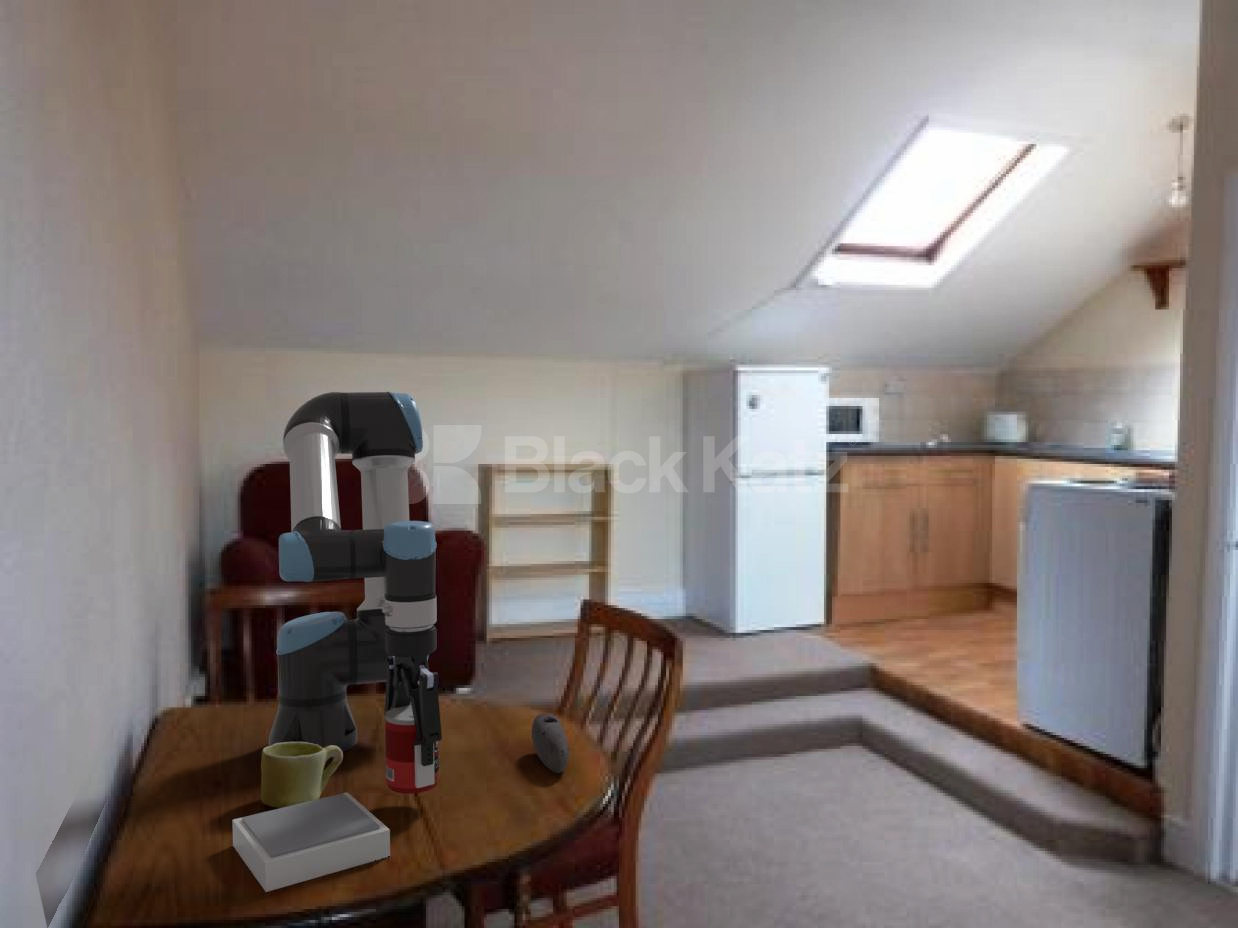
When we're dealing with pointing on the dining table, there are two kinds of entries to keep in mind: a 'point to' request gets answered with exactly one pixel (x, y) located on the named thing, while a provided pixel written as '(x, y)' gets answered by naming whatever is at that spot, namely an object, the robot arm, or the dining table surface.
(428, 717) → the robot arm
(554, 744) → the perforated stone tool
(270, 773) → the mug
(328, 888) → the dining table surface
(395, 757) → the canned food
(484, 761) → the dining table surface
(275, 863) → the tray
